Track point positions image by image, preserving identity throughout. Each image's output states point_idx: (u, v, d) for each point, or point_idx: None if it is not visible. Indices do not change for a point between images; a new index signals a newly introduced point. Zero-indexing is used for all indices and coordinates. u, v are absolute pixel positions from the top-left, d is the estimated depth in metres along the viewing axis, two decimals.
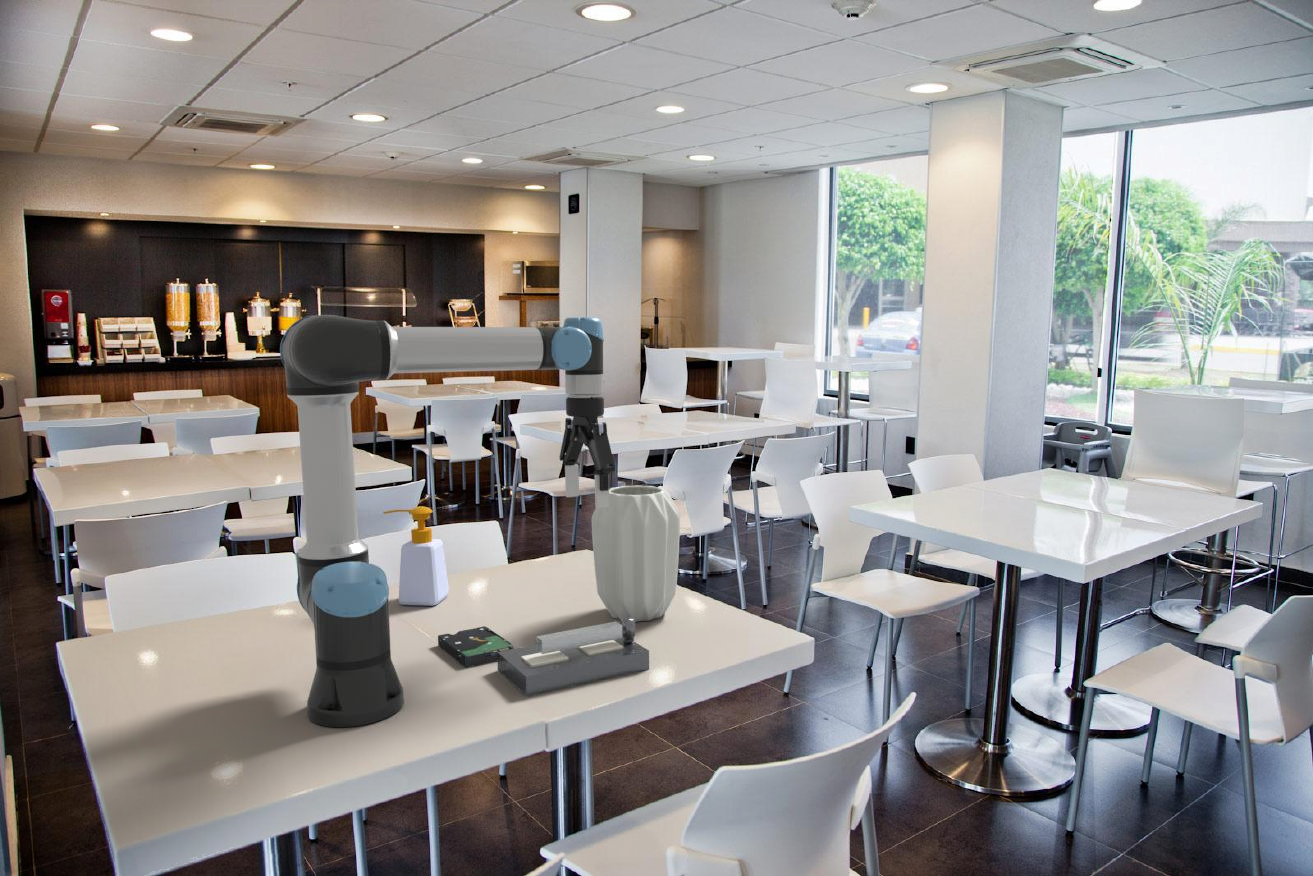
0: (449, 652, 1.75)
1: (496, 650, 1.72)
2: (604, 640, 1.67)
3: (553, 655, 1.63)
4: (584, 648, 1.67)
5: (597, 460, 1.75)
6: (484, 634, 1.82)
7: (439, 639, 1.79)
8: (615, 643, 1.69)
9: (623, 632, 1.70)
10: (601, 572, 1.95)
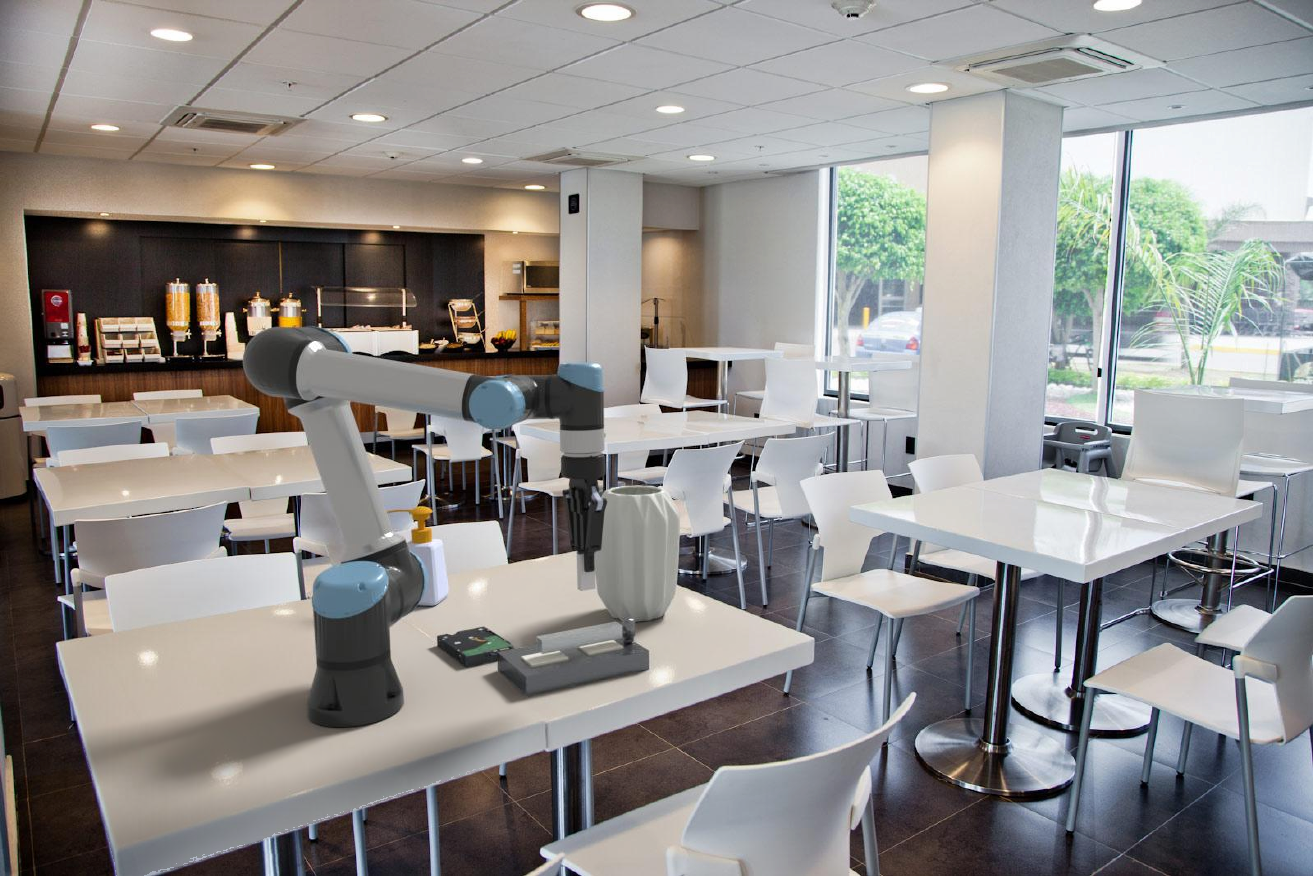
0: (449, 652, 1.75)
1: (496, 650, 1.72)
2: (604, 640, 1.67)
3: (553, 655, 1.63)
4: (584, 648, 1.67)
5: (585, 538, 1.54)
6: (483, 634, 1.82)
7: (438, 639, 1.79)
8: (615, 643, 1.69)
9: (623, 632, 1.70)
10: (601, 572, 1.95)
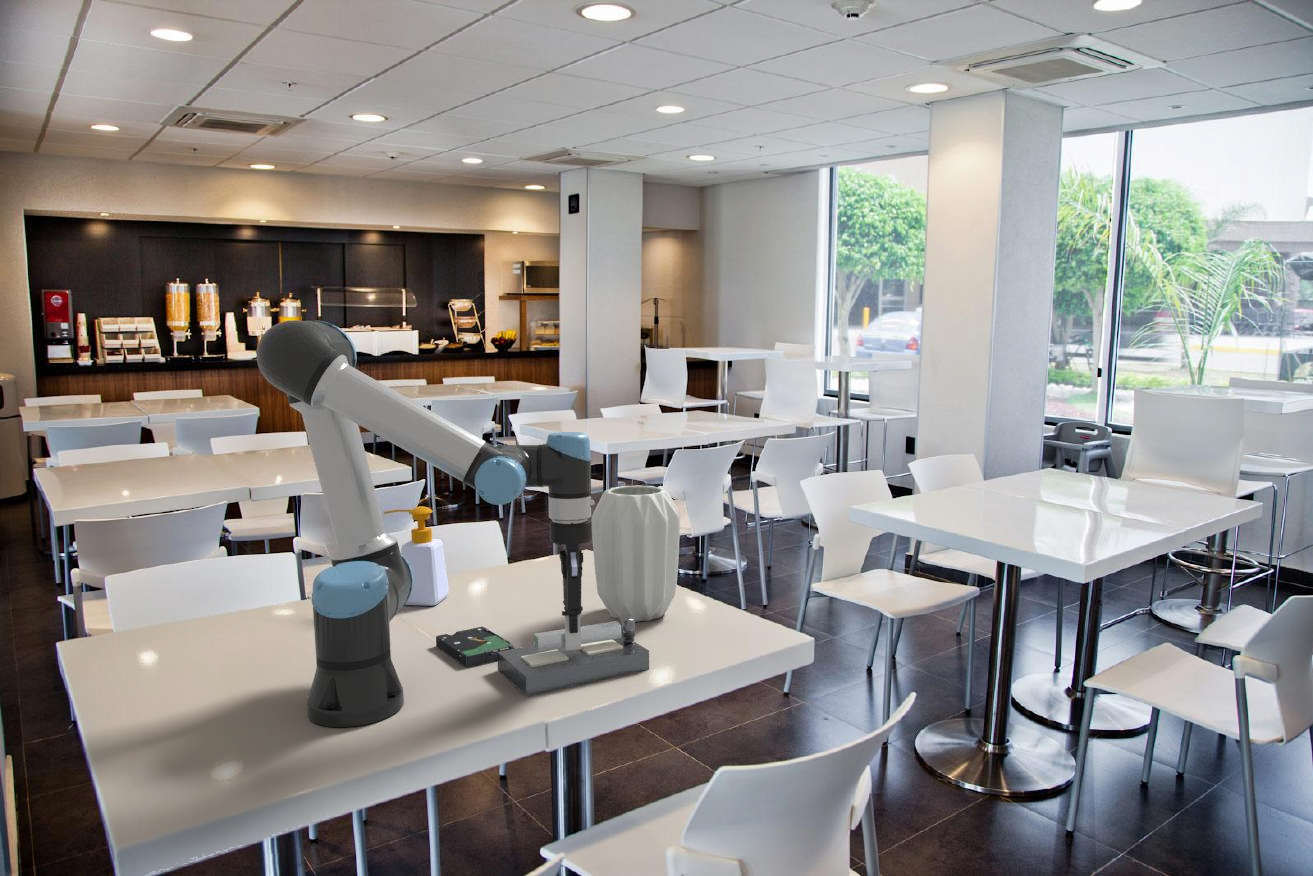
0: (448, 652, 1.75)
1: (496, 650, 1.72)
2: (602, 639, 1.67)
3: (553, 655, 1.63)
4: (584, 648, 1.67)
5: None
6: (482, 634, 1.82)
7: (437, 640, 1.79)
8: (615, 643, 1.69)
9: (623, 632, 1.70)
10: (601, 572, 1.95)
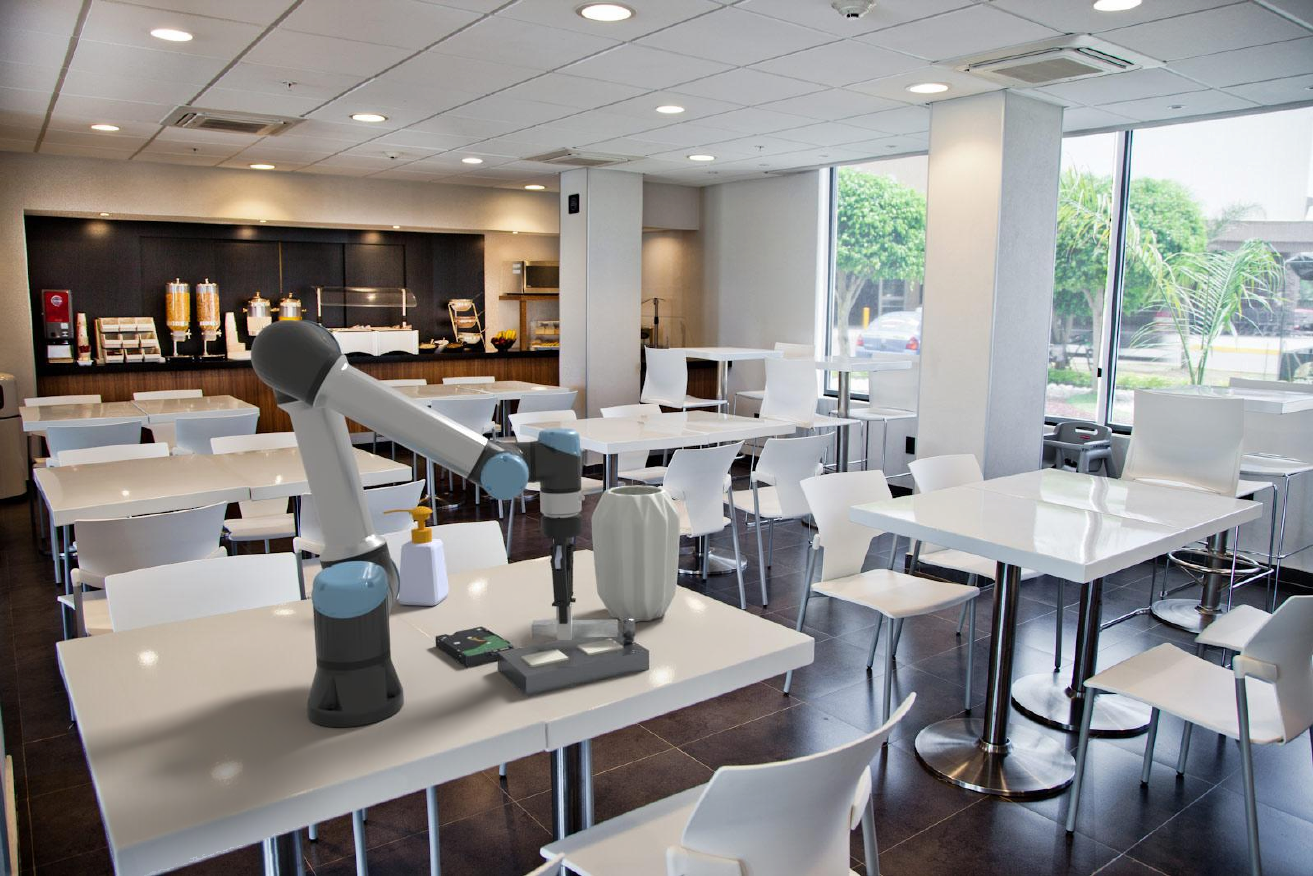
0: (448, 652, 1.75)
1: (496, 649, 1.72)
2: (597, 635, 1.69)
3: (553, 655, 1.63)
4: (584, 648, 1.67)
5: None
6: (482, 634, 1.82)
7: (437, 640, 1.79)
8: (615, 643, 1.69)
9: (622, 631, 1.71)
10: (601, 572, 1.95)
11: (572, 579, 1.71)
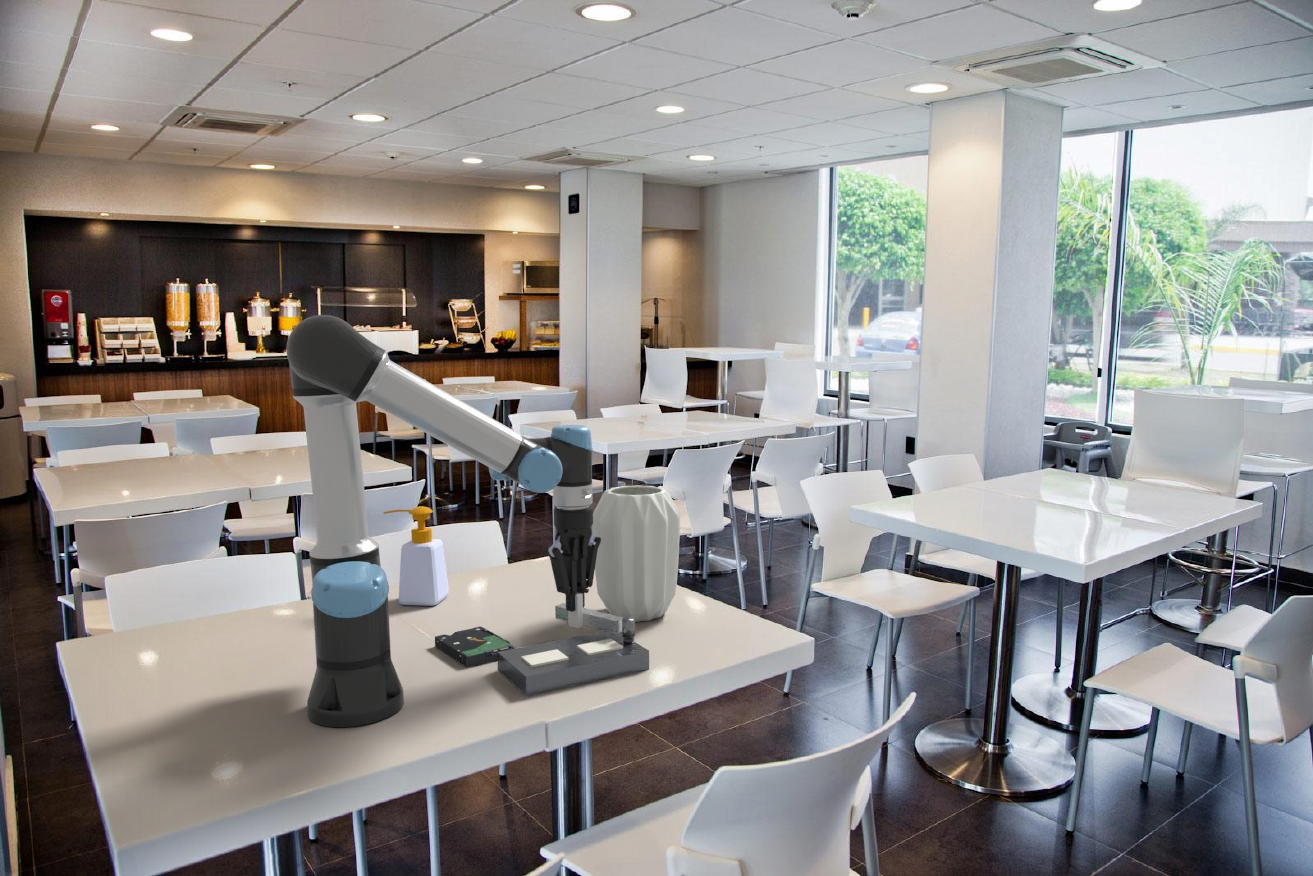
0: (448, 653, 1.75)
1: (496, 649, 1.72)
2: (601, 629, 1.73)
3: (553, 655, 1.63)
4: (584, 648, 1.67)
5: None
6: (481, 634, 1.82)
7: (436, 640, 1.79)
8: (615, 643, 1.69)
9: None
10: (601, 572, 1.95)
11: (591, 571, 1.77)
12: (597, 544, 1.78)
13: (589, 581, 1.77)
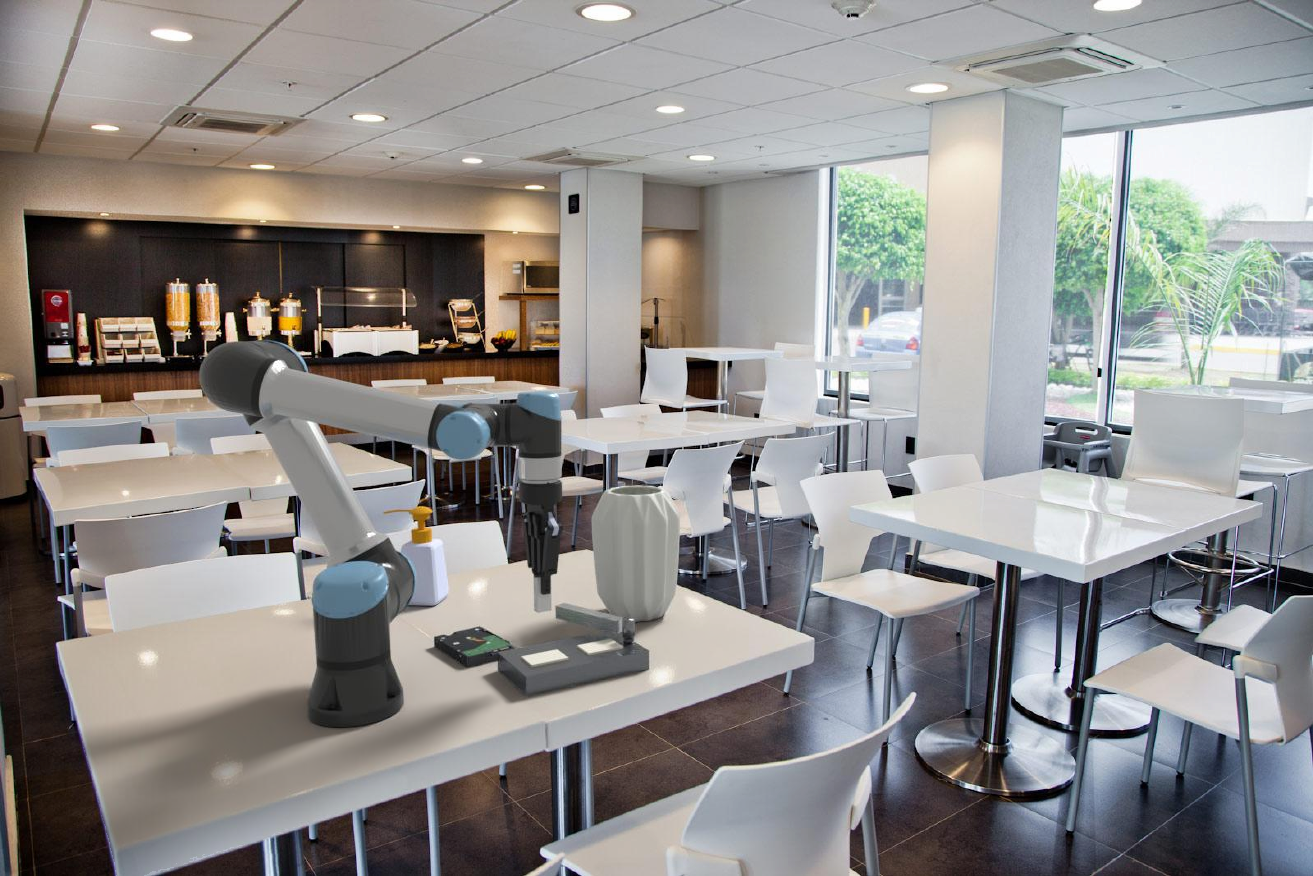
0: (447, 653, 1.75)
1: (496, 649, 1.72)
2: (601, 629, 1.73)
3: (553, 655, 1.63)
4: (584, 648, 1.67)
5: (541, 562, 1.59)
6: (481, 634, 1.82)
7: (435, 640, 1.79)
8: (615, 643, 1.69)
9: None
10: (601, 572, 1.95)
11: None
12: None
13: None
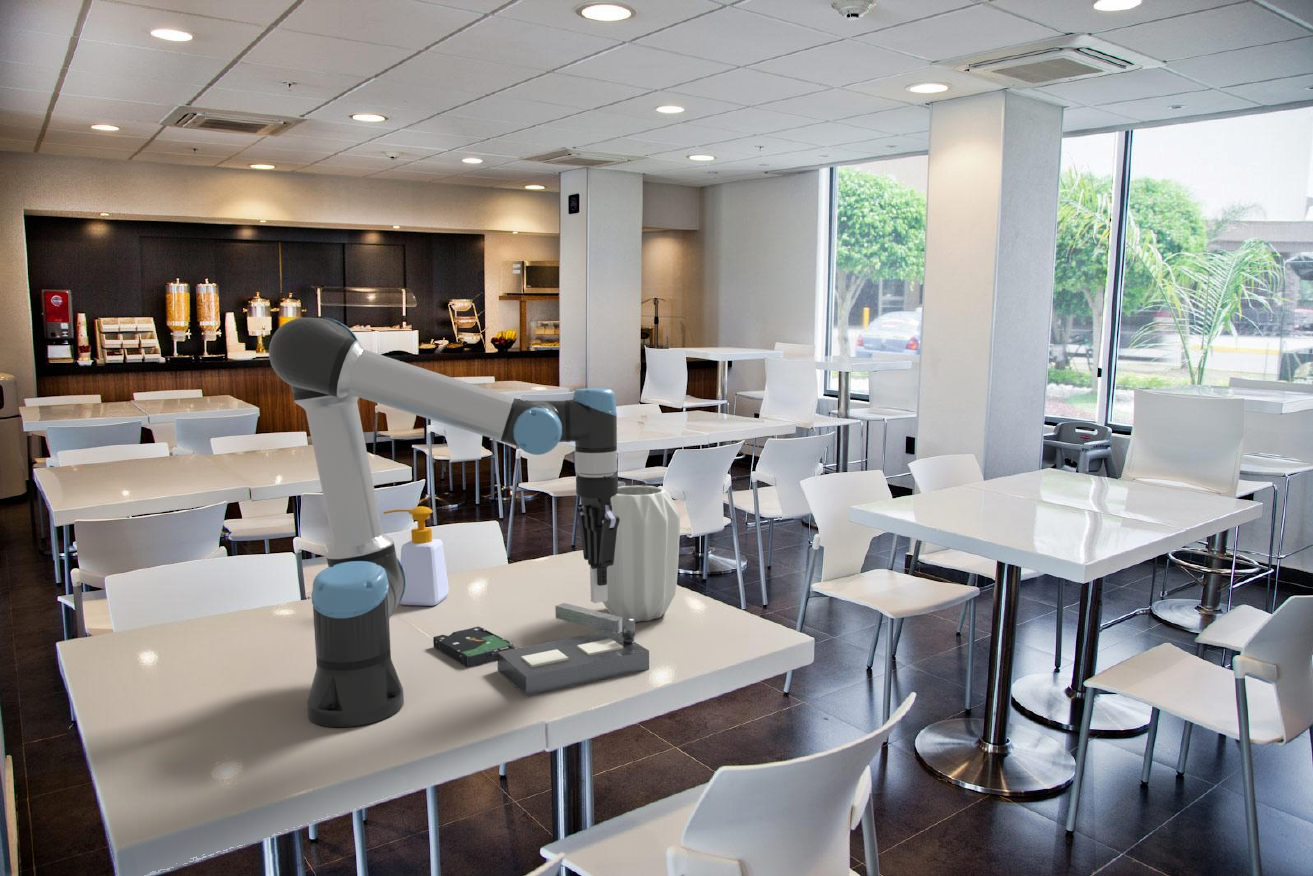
0: (447, 653, 1.75)
1: (497, 649, 1.72)
2: (601, 629, 1.73)
3: (553, 655, 1.63)
4: (584, 648, 1.67)
5: (598, 554, 1.64)
6: (480, 634, 1.82)
7: (435, 640, 1.79)
8: (615, 643, 1.69)
9: None
10: None
11: None
12: None
13: None
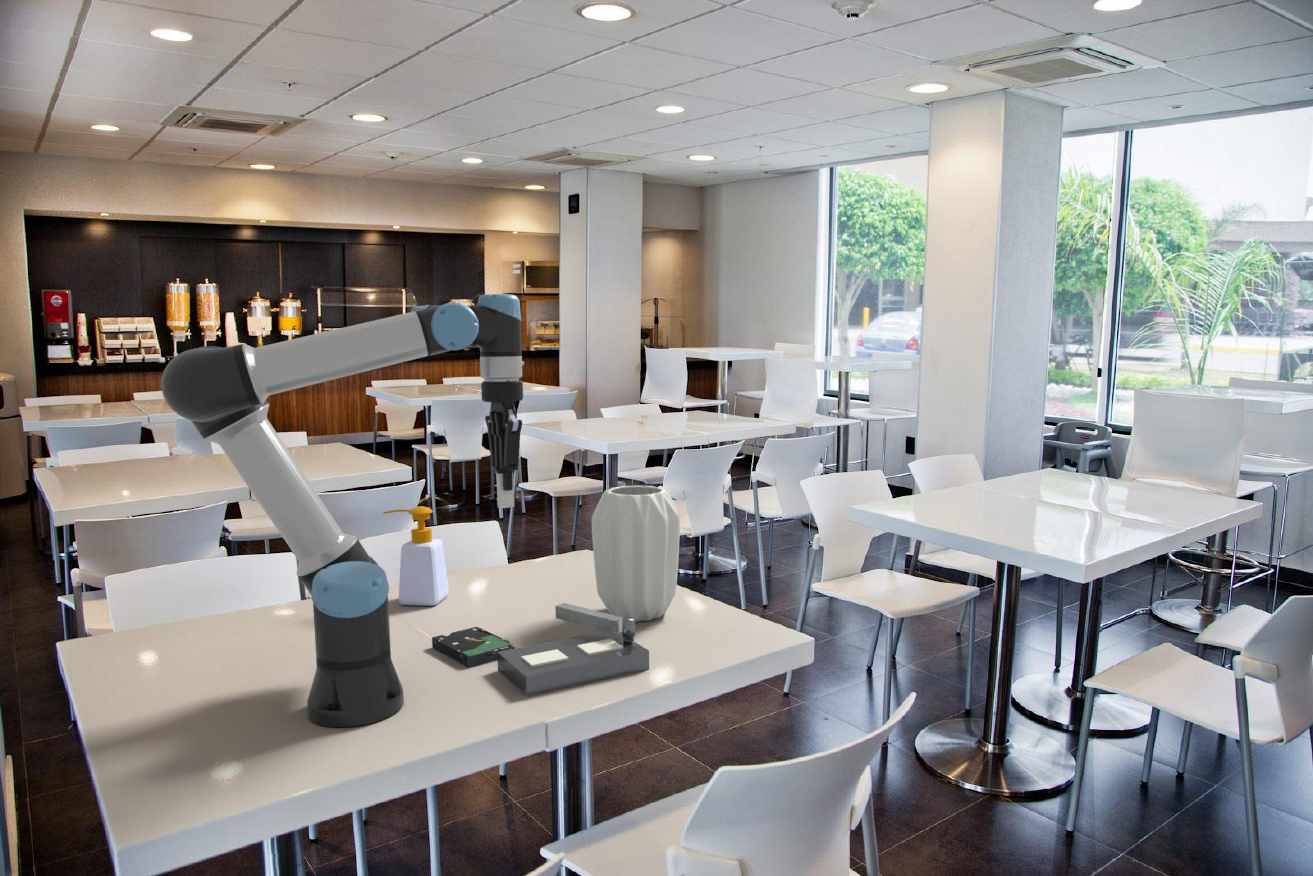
0: (447, 653, 1.75)
1: (497, 649, 1.72)
2: (601, 629, 1.73)
3: (553, 655, 1.63)
4: (584, 648, 1.67)
5: (503, 458, 1.66)
6: (478, 634, 1.82)
7: (434, 641, 1.78)
8: (615, 643, 1.69)
9: None
10: (601, 572, 1.95)
11: None
12: None
13: None
